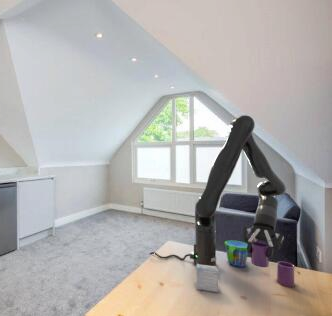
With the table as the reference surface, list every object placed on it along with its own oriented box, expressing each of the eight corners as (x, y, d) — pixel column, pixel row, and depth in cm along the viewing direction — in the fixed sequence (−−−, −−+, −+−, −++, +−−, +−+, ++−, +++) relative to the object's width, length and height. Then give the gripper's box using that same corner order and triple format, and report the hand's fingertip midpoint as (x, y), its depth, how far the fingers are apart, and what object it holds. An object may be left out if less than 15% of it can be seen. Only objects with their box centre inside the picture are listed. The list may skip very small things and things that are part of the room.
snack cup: (234, 256, 130) (234, 237, 130) (255, 263, 121) (255, 243, 121) (217, 264, 122) (217, 243, 122) (240, 272, 113) (239, 250, 113)
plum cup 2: (276, 283, 103) (276, 264, 103) (278, 278, 107) (278, 260, 107) (293, 288, 99) (293, 268, 99) (295, 283, 103) (295, 264, 103)
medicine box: (216, 287, 101) (216, 266, 101) (218, 293, 96) (218, 271, 96) (196, 284, 103) (196, 263, 103) (196, 289, 99) (196, 268, 99)
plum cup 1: (249, 264, 97) (249, 244, 97) (253, 259, 101) (253, 240, 101) (266, 268, 93) (266, 247, 93) (269, 264, 97) (269, 244, 97)
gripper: (244, 210, 107) (236, 244, 99) (285, 216, 97) (280, 255, 89) (247, 220, 111) (240, 254, 103) (287, 226, 101) (282, 264, 93)
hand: (258, 254), depth 96 cm, fingers closed on plum cup 1, 5 cm apart
